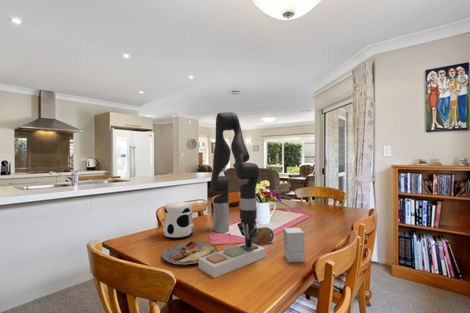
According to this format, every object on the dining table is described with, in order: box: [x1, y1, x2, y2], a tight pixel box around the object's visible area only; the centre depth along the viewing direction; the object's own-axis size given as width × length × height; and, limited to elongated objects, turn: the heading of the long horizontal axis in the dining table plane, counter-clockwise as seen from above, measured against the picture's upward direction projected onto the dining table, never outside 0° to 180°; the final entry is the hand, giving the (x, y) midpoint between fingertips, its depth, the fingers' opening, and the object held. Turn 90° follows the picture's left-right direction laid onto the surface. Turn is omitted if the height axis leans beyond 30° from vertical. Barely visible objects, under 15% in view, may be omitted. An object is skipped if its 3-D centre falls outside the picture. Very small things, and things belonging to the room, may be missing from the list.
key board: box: [198, 242, 267, 279], centre depth 107 cm, size 11×28×4 cm, turn 130°
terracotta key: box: [206, 253, 227, 264], centre depth 101 cm, size 6×6×3 cm
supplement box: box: [283, 227, 306, 263], centre depth 109 cm, size 7×7×13 cm
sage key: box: [223, 244, 243, 258], centre depth 107 cm, size 6×6×3 cm
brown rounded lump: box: [252, 226, 275, 246], centre depth 128 cm, size 15×3×8 cm, turn 105°
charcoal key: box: [239, 243, 259, 252], centre depth 112 cm, size 6×6×3 cm
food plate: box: [161, 241, 218, 266], centre depth 115 cm, size 25×23×4 cm
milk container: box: [162, 201, 195, 239], centre depth 144 cm, size 17×17×18 cm
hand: (248, 246), depth 112 cm, fingers closed
